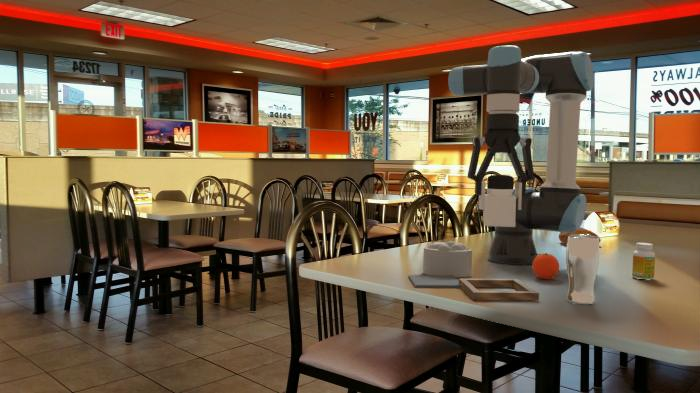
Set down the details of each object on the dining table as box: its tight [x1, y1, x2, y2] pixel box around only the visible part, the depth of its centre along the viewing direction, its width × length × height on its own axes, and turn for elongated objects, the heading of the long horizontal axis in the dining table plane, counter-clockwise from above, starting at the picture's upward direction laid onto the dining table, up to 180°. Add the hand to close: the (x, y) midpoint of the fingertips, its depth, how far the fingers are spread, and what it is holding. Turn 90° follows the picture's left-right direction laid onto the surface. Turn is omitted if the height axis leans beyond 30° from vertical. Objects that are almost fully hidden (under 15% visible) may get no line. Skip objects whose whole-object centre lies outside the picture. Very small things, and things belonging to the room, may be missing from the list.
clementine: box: [531, 252, 560, 280], centre depth 155 cm, size 8×7×7 cm
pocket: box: [458, 278, 540, 301], centre depth 138 cm, size 15×15×2 cm
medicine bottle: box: [483, 174, 517, 228], centre depth 136 cm, size 7×7×12 cm
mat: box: [408, 274, 462, 289], centre depth 148 cm, size 12×12×1 cm
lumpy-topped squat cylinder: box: [422, 241, 473, 278], centre depth 160 cm, size 10×13×9 cm
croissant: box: [558, 226, 601, 246], centre depth 219 cm, size 14×16×8 cm
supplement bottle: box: [631, 242, 656, 280], centre depth 157 cm, size 5×5×10 cm
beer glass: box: [565, 235, 600, 305], centre depth 130 cm, size 7×7×15 cm
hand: (499, 209), depth 137 cm, fingers closed on medicine bottle, 8 cm apart
